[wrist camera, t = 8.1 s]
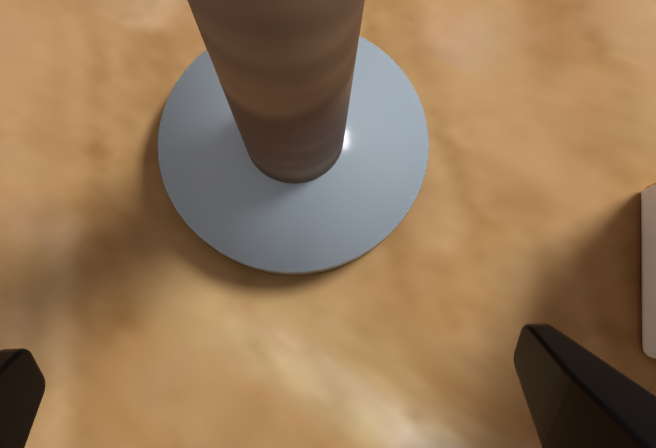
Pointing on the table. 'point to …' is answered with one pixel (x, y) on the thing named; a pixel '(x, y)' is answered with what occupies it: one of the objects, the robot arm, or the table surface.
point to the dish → (302, 198)
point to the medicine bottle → (649, 269)
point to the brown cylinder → (285, 77)
